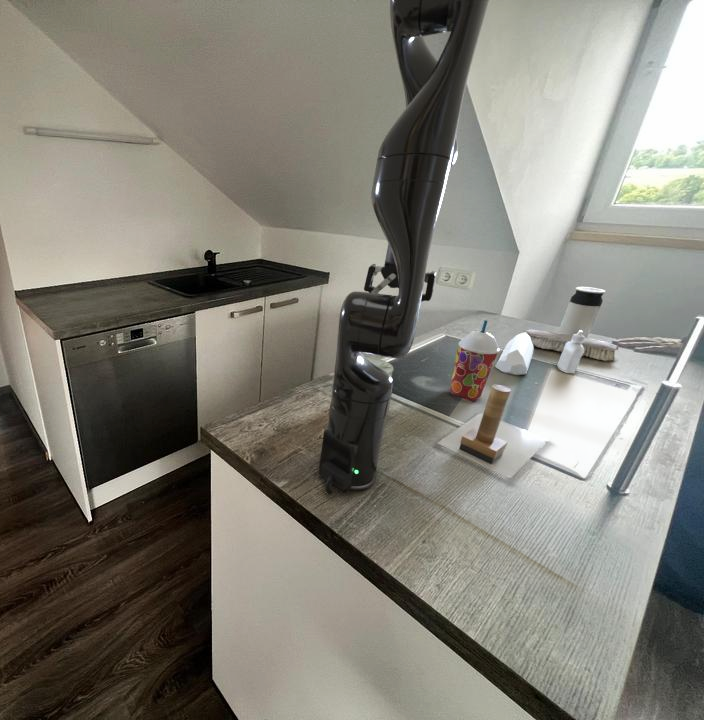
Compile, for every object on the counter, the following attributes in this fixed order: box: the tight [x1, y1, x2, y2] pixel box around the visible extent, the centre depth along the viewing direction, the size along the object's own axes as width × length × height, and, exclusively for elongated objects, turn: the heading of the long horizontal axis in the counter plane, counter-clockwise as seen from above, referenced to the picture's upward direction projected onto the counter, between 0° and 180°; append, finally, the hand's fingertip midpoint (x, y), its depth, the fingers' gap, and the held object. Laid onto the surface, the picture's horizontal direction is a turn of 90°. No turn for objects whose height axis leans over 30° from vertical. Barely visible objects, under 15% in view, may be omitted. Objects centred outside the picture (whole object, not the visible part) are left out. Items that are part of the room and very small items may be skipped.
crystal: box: [494, 332, 535, 376], centre depth 117 cm, size 7×7×24 cm
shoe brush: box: [522, 329, 619, 362], centre depth 125 cm, size 24×8×5 cm, turn 52°
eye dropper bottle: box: [556, 331, 584, 374], centre depth 110 cm, size 4×6×12 cm
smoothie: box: [449, 319, 500, 402], centre depth 94 cm, size 8×8×20 cm
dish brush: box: [459, 384, 512, 464], centre depth 72 cm, size 5×6×14 cm
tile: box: [436, 412, 550, 480], centre depth 79 cm, size 20×13×1 cm, turn 126°
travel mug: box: [557, 286, 607, 338], centre depth 132 cm, size 8×8×18 cm
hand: (392, 313), depth 90 cm, fingers open, 8 cm apart
